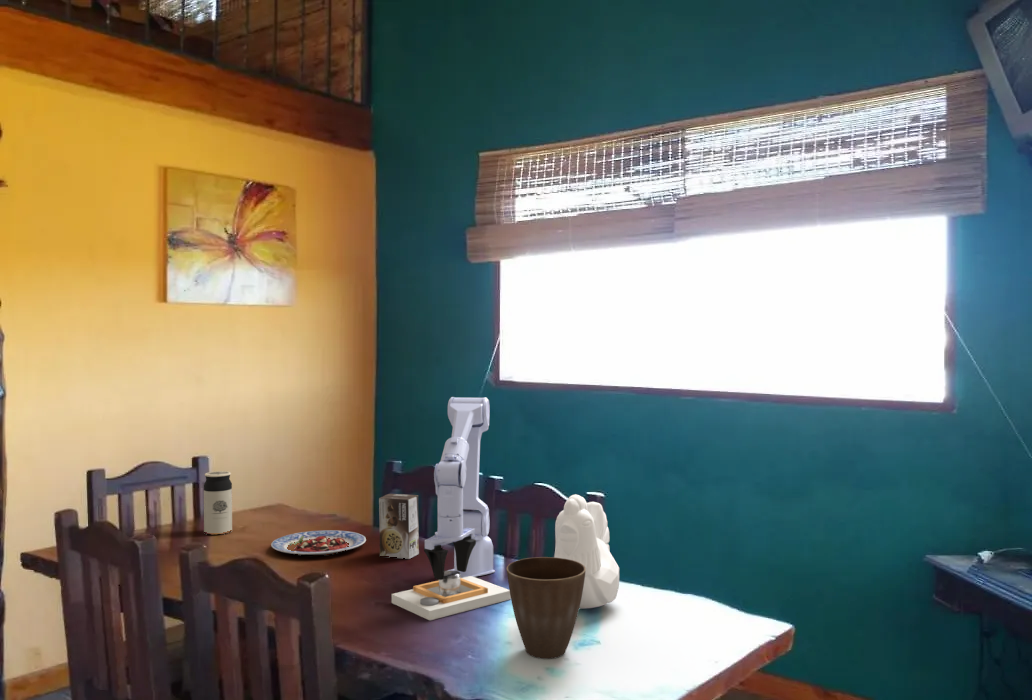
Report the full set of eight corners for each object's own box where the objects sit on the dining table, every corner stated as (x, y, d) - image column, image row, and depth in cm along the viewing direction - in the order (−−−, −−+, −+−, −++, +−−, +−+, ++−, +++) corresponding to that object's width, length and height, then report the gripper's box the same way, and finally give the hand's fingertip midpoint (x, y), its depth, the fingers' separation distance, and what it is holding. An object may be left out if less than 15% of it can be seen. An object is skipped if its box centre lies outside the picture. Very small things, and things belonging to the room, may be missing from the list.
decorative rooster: (592, 623, 174) (592, 504, 174) (529, 609, 184) (530, 495, 183) (648, 593, 194) (648, 486, 194) (589, 581, 204) (590, 479, 203)
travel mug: (205, 530, 257) (205, 471, 256) (233, 529, 259) (232, 470, 258) (202, 536, 249) (202, 475, 249) (230, 535, 251) (230, 474, 250)
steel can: (449, 595, 193) (449, 569, 193) (464, 599, 190) (464, 573, 190) (434, 601, 189) (434, 574, 189) (450, 605, 186) (450, 577, 186)
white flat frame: (470, 584, 202) (470, 571, 202) (510, 599, 190) (510, 586, 190) (391, 602, 188) (391, 589, 188) (429, 620, 176) (429, 606, 176)
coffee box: (419, 553, 230) (419, 494, 229) (409, 559, 224) (409, 499, 223) (389, 551, 233) (389, 492, 232) (378, 556, 227) (378, 497, 226)
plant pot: (595, 663, 153) (596, 576, 153) (515, 670, 150) (515, 581, 150) (573, 635, 168) (573, 555, 167) (499, 640, 165) (499, 559, 164)
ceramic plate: (385, 545, 240) (385, 534, 240) (318, 566, 218) (318, 554, 218) (320, 533, 254) (320, 523, 254) (251, 552, 232) (251, 541, 232)
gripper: (458, 507, 197) (458, 564, 197) (414, 517, 186) (414, 579, 186) (481, 511, 193) (481, 570, 193) (438, 522, 181) (438, 585, 182)
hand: (450, 574), depth 189 cm, fingers open, 7 cm apart
